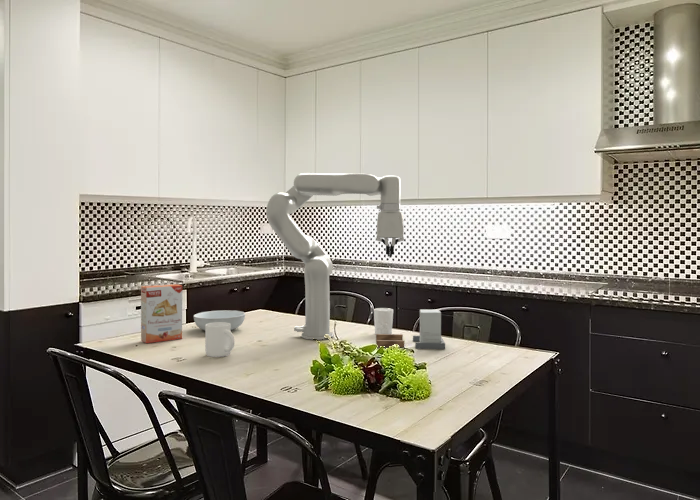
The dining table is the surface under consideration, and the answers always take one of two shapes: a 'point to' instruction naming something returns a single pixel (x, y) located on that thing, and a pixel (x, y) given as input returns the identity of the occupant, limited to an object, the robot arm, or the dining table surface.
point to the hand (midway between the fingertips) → (389, 256)
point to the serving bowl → (219, 318)
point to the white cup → (383, 320)
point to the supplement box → (430, 326)
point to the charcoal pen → (428, 344)
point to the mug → (218, 339)
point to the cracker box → (161, 313)
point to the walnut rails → (389, 340)
